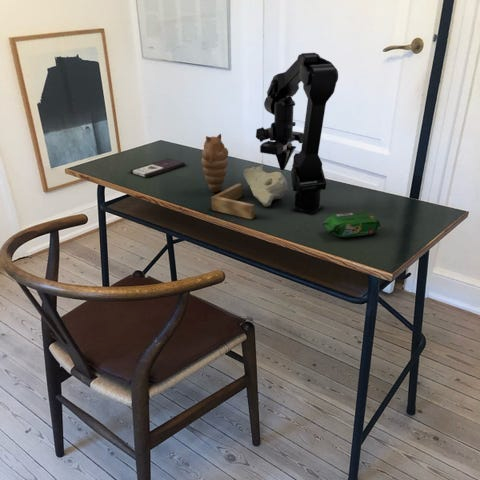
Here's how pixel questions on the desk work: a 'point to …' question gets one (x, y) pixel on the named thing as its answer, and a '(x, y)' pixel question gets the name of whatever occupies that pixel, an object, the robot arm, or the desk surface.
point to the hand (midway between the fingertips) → (282, 169)
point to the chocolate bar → (157, 167)
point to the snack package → (352, 224)
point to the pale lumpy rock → (265, 184)
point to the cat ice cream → (214, 162)
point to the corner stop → (232, 203)
